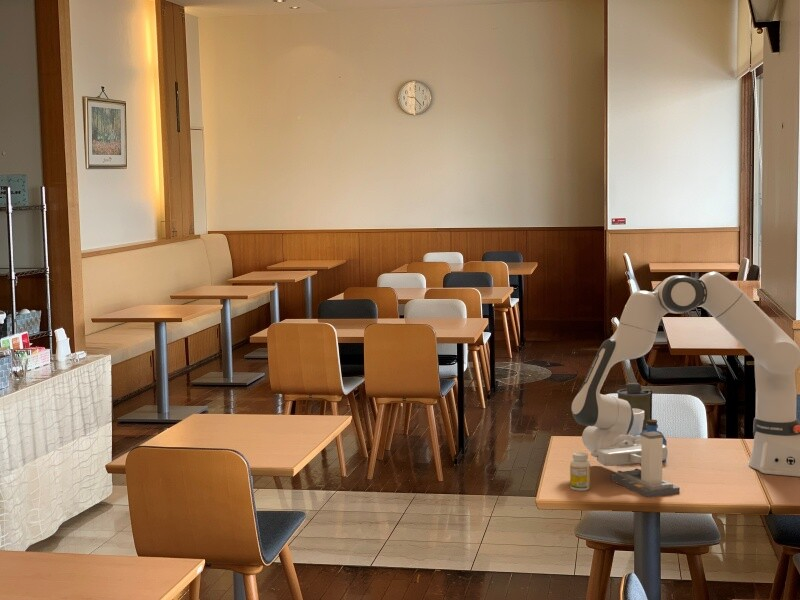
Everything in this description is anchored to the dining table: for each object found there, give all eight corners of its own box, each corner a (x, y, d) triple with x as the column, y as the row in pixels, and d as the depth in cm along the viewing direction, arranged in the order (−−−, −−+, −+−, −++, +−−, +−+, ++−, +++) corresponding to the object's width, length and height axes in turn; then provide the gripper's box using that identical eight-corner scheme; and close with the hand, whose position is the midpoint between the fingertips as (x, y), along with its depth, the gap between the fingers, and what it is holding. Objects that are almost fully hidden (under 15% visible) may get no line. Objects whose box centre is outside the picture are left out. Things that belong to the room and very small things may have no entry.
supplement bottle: (582, 492, 278) (582, 457, 277) (566, 488, 282) (566, 454, 281) (594, 488, 282) (594, 453, 281) (578, 484, 286) (578, 450, 285)
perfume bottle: (654, 456, 315) (655, 417, 314) (666, 461, 309) (666, 421, 308) (637, 458, 313) (637, 419, 312) (648, 463, 307) (648, 423, 306)
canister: (624, 450, 322) (624, 387, 320) (611, 442, 333) (612, 381, 331) (657, 448, 324) (657, 385, 322) (643, 440, 334) (644, 379, 332)
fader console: (611, 479, 290) (611, 471, 289) (641, 476, 293) (641, 467, 293) (647, 497, 273) (647, 488, 273) (679, 493, 276) (679, 483, 276)
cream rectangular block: (640, 482, 281) (640, 432, 279) (653, 481, 282) (654, 431, 281) (649, 486, 277) (649, 436, 276) (662, 484, 278) (663, 434, 277)
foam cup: (641, 456, 314) (642, 414, 313) (611, 454, 317) (611, 413, 316) (645, 449, 323) (645, 408, 322) (615, 447, 326) (615, 406, 325)
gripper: (588, 441, 290) (614, 453, 277) (650, 435, 297) (679, 445, 284) (587, 463, 291) (614, 476, 278) (650, 456, 298) (678, 468, 285)
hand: (647, 460), depth 281 cm, fingers closed, pressing on cream rectangular block
